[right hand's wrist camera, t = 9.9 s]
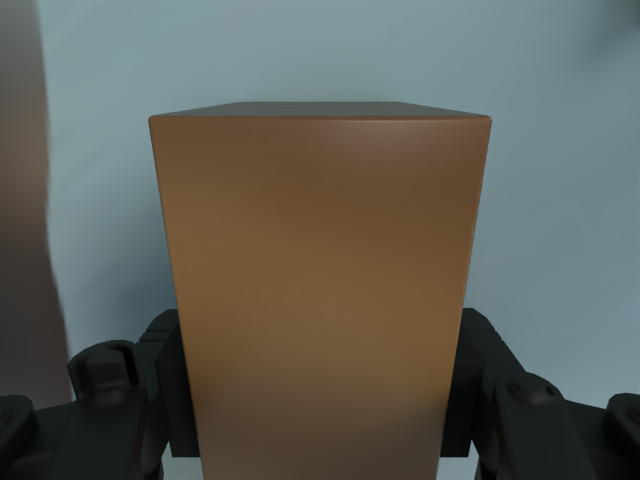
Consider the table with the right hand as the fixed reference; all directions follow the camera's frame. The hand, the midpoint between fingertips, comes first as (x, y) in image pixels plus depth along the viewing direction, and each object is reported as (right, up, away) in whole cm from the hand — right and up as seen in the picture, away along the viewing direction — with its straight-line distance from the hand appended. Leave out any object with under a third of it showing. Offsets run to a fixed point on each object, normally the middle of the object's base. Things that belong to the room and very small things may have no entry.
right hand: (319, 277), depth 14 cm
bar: (0, -21, +9) cm, 23 cm away
